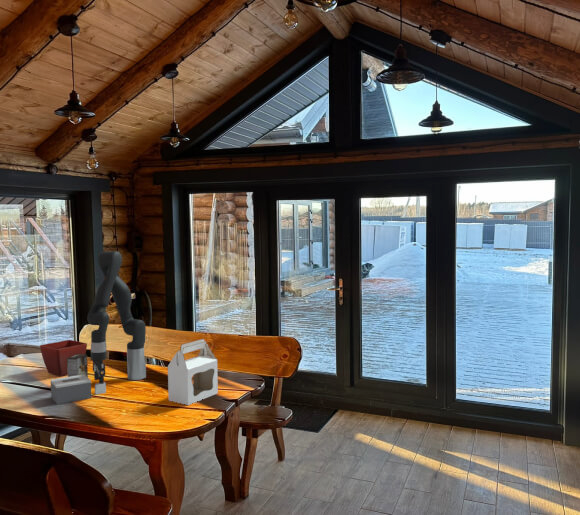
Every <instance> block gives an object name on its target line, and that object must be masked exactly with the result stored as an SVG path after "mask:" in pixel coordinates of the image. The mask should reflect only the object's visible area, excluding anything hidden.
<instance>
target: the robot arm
mask: <svg viewBox="0 0 580 515" xmlns="http://www.w3.org/2000/svg"><path fill="white" fill-rule="evenodd" d="M97 262H98V266H99V268H100V270H101V272H102V274H103V276H104V278H103V280H102V282H101V283H100V284H99V286H98V288H97V290H96V294H95V298H94V301H93V302H94V303H93V304H92V305H91V307H90V310H89V312H88V313H87V317H86V318H87V322H88V324H89V325H91V326H98V328H97V329H93V330H92V331H91V332H90V333H91V334H90V335H91V336H90V338H91V340H90V360H91V361H92V371H93V375H94V381H98V383H99V384H103V383H104V382H105V381H104V380H105V376H106V364H105V362H103V361H105V360H107V340H106V339H107V332H108V331H107V330H108V325H109V323H110V315H109V314H108V313H107V312H106V311H102V309H105V308H108V307H109V304H110V300H111V296H112V300H114V301H113V302H114V304H115V305H116V308H117V309H116V310H117V311H118V314H119V318H120V322H121V326H122V330H123V332H124V334H126V335H128V336H131V337H132V340H131V341H128V342H127V343H126V359H127V360H126V362H127V364H126V365H127V379H128V380H129V381H130V380H131V381H139V380H143V379H146V378H147V364H146V362H147V361H146V360H145V343H146V334H147V333H146V332H147V331H146V323H145V321H143V320H142V319H136V318H134V317H133V314H132V312H131V306H132V301H133V298H132V294H131V291H130V288H129V286H128V285H127V284H126V282H125V281H124V280H122V278H121V277H120V276H119V275H118V274H119V271H120V268H121V266H122V262H123V257H122V254H121V253H120V252H119V251H118V250H116V251H115V250H112V251H111V250H110V251H108V250H107V251H101V252H100V253H99V254H98V256H97Z"/></svg>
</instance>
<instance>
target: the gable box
mask: <svg viewBox="0 0 580 515" xmlns="http://www.w3.org/2000/svg"><path fill="white" fill-rule="evenodd" d="M197 350H199V353H198V356H195V357H191V358H188V359H185V354H187V353H190V352H195V351H197ZM218 376H219V375H218V358H217V357H216V355H215V354H214V352H213V351H212V350H211V348H210V347H209V345H208V343H207V341H206V340H205V339H204V338H202V339H197V340H194V341H190V342H187V343H183V344H181V345H180V350H178V351H177V352H176V353H175V354H174V356H173V357H172V359H171V361H170V362H169V364H168V365H167V380H168V381H167V382H168V383H167V388H168V389H167V390H168V393H167V394H168V401H169V402H172V401H173V403H176V402H177V403H176V404H180V403H181V404H180V405H184V404H185V406H190V405H192V403H193V404H195V403H198V402H200V401H202V399H203V400H205V399H208V398H210V397H212V396H215V395H217V394H218V392H219V389H218V385H219V383H218V379H219V378H218ZM197 401H198V402H197Z"/></svg>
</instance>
